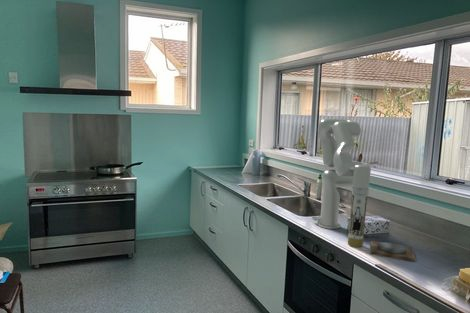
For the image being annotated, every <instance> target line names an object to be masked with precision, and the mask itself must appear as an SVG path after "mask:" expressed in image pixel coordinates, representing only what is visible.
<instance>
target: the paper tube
mask: <svg viewBox="0 0 470 313" xmlns="http://www.w3.org/2000/svg"><path fill="white" fill-rule="evenodd" d="M365 197H366V200H365V212H364V217H363V216H361V219H360V222H361V225H360V231H358V230H353V221H354V217H355V215H353V203H354V194H352V193H351V202H350V203H351V204H350V213H349V224H348V235H347V236H348V237H347V244H348V245H349V246H350V247H353V248H361V247H363V246H364V245H363V244H364V236H365V235H364V234H365V227H366V226H365V225H366V224H365V223H366V215H367V203H368V195H367V196H365ZM356 213H357V212H356ZM359 215H360V211H359Z"/></svg>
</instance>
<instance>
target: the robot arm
mask: <svg viewBox="0 0 470 313" xmlns="http://www.w3.org/2000/svg"><path fill="white" fill-rule="evenodd" d="M361 130H362V129H361V125H360V124H359V123H358V122H357V121H354V120H349V119H341V118H340V119H338V118H324V119H321V120H320V121H319V122H318V126H317V134H318V138H319V141H320V145H321V153H322V162H323V165H324V167H325V168H329V169H326V170H324V171H323V172H322V174H321V183H322V193H321V197H322V198H321V208H320V214H319V216H314V215H312V219H311V220H313V221H316V225H317V226H318V227H320V228H323V229H329V230H336V229H337V230H338V229H340V228H341V223H338V222H339V214H340V213H339V211H340V202H341V200H340V199H341V195H340V192H339V191H338V189H337V188H351V195H352V194H354V203H353V215H355V217H354V221H353V230H358V231H360V225H361V222H360V219H361V216H363V217H364V212H365V200H366V197H365V196H367V197H368V196H369V192H370V181H371V173H372V172H371V166H369V165H367V164H364V163H363V162H357V161H353V157H352V155H351V154H350V151H352V150H353V149H354V148H355V147H356V146H355V144H356V142H355V141H354V138H358V137H359V136H360V135H361V132H362V131H361ZM332 135H333V136H334V137H333V136H332ZM331 168H332V169H331ZM359 211H360V215H359ZM356 212H357V213H356Z"/></svg>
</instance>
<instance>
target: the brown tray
mask: <svg viewBox="0 0 470 313" xmlns="http://www.w3.org/2000/svg"><path fill="white" fill-rule="evenodd" d="M370 255H372V256H376V257H377V256H379V257H383V256H384V258H390V259H396V260H402V261H406V262H407V261H408V262H413V263H415V262H416V256H415V253H414V250H413V248H412V247H411V246H405V245H401V244H397V243H394V242H380V241H373V240H370Z"/></svg>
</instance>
